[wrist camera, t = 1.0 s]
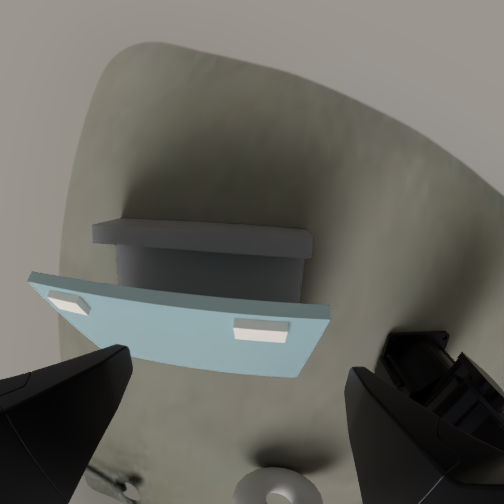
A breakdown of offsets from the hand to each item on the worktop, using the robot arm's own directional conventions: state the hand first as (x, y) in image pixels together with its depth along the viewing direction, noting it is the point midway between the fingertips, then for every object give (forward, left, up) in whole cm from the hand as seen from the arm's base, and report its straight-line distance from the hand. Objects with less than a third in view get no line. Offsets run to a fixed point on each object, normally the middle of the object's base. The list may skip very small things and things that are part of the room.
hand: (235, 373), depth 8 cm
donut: (-4, +24, -13) cm, 28 cm away
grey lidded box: (+4, +2, -13) cm, 14 cm away
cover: (+4, +2, -6) cm, 7 cm away
